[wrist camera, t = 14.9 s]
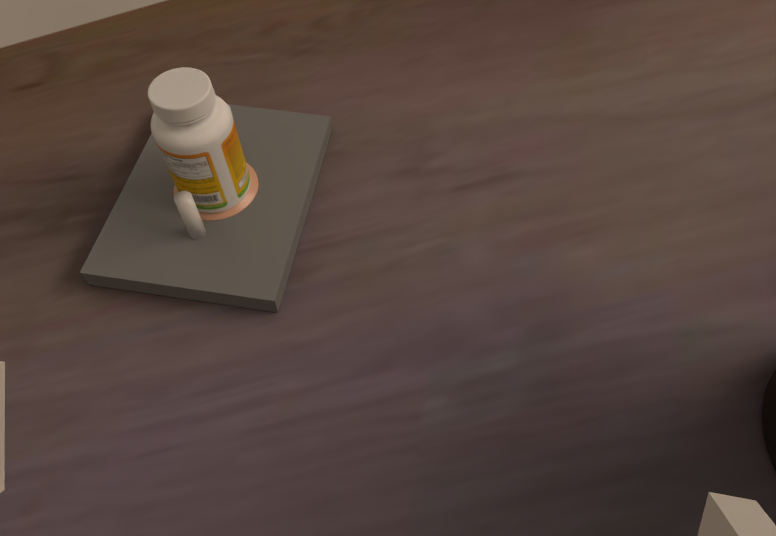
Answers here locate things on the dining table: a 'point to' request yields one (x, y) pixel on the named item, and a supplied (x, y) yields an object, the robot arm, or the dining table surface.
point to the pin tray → (216, 220)
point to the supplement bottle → (198, 139)
